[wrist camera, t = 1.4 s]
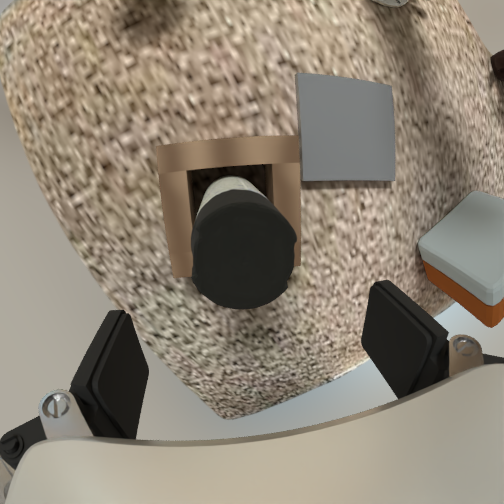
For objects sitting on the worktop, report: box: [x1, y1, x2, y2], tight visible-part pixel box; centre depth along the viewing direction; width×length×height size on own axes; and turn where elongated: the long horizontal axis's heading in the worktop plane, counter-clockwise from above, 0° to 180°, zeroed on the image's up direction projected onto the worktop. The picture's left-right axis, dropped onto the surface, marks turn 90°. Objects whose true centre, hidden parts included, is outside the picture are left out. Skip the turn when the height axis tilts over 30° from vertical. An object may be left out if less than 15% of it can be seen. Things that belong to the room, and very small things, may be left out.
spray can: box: [191, 175, 297, 309], centre depth 24 cm, size 7×7×20 cm
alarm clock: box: [418, 191, 504, 328], centre depth 30 cm, size 18×9×21 cm, turn 125°
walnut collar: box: [156, 136, 301, 278], centre depth 31 cm, size 15×15×5 cm
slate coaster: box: [295, 73, 395, 181], centre depth 31 cm, size 14×14×1 cm
